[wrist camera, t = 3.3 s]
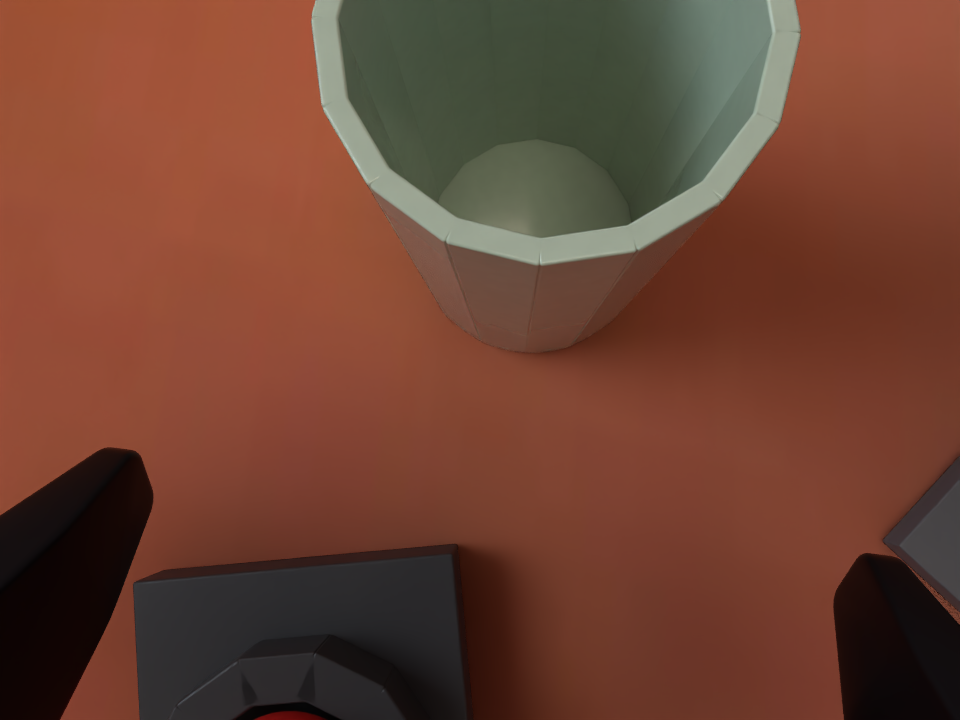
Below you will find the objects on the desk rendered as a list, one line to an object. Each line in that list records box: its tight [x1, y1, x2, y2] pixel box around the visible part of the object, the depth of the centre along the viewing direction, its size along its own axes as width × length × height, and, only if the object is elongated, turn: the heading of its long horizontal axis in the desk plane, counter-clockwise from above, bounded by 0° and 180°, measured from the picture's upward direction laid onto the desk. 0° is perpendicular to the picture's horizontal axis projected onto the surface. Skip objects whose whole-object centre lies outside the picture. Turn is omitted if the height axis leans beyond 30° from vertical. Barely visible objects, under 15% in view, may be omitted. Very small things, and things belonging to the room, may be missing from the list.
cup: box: [311, 0, 801, 353], centre depth 17 cm, size 7×7×12 cm
